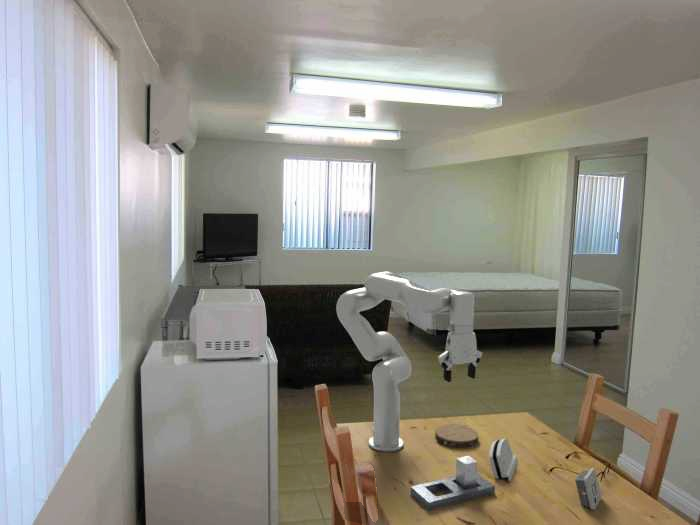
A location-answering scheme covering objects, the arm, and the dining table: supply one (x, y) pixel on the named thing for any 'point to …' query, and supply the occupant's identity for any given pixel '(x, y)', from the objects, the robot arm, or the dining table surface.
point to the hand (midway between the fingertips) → (459, 379)
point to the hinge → (502, 459)
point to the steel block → (466, 472)
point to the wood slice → (456, 436)
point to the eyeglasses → (591, 456)
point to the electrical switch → (588, 488)
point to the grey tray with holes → (449, 492)
